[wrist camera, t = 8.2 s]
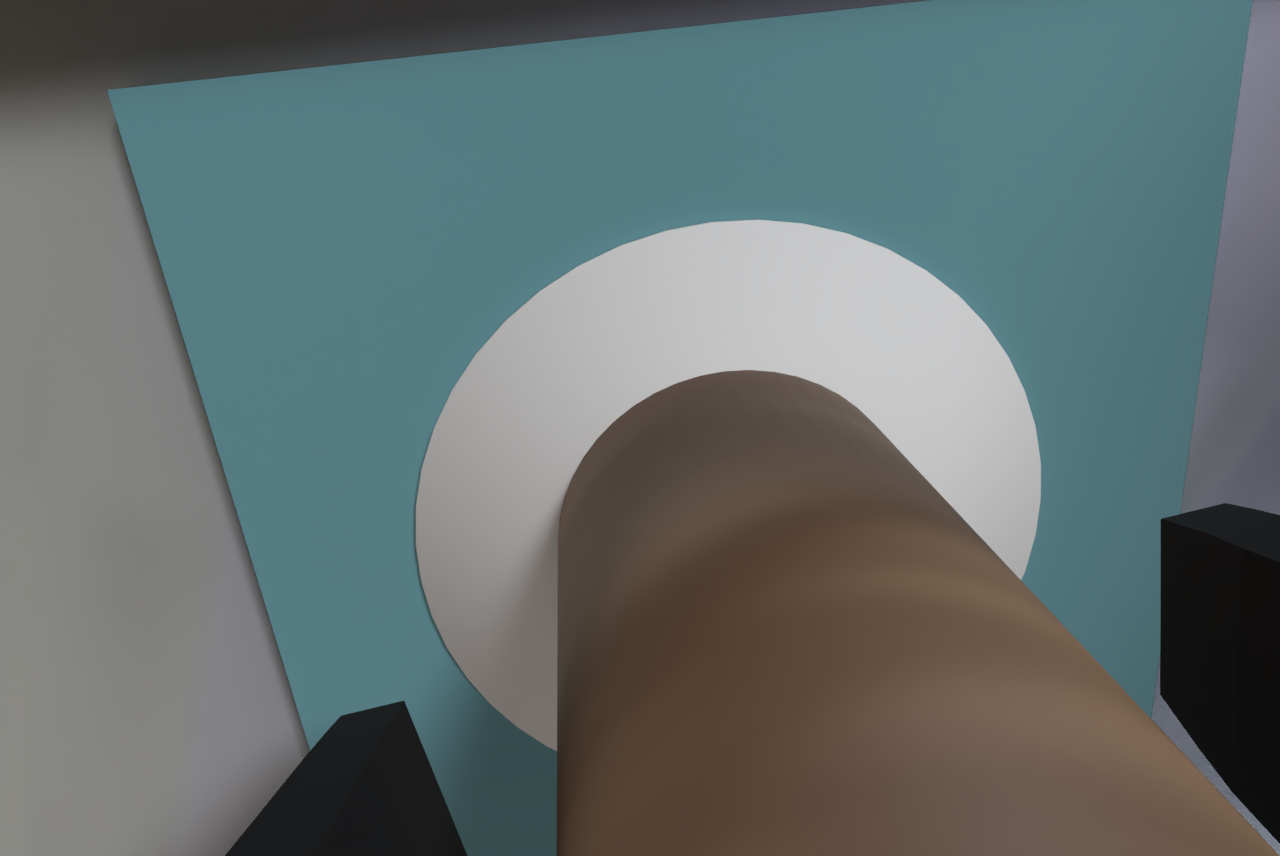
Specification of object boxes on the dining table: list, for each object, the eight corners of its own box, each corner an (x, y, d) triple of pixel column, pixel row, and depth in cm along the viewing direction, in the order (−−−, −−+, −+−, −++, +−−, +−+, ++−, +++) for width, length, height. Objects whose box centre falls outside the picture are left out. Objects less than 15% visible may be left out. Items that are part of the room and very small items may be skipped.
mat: (1231, -31, 10) (1263, -37, 9) (1121, 802, 14) (1140, 827, 14) (125, 89, 9) (102, 90, 9) (373, 912, 14) (365, 943, 13)
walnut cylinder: (886, 330, 10) (1445, 744, 4) (925, 640, 12) (1359, 1296, 5) (515, 421, 10) (440, 988, 4) (604, 718, 12) (659, 1465, 5)
